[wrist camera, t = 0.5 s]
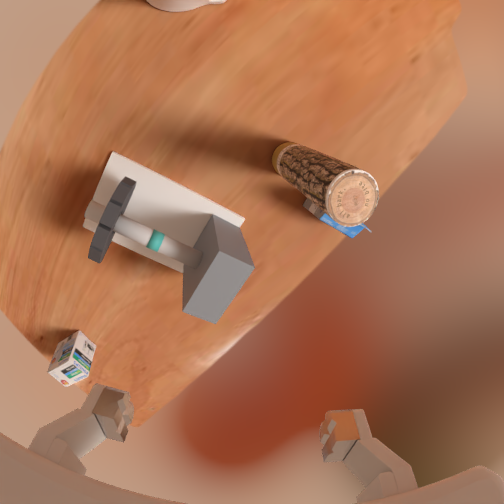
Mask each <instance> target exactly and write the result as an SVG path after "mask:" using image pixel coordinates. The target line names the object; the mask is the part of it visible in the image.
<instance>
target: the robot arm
mask: <svg viewBox="0 0 504 504" xmlns="http://www.w3.org/2000/svg"><path fill="white" fill-rule="evenodd" d="M146 1H147V2H148V3H149V4H151V5H152V6H154V7H156V8H158V9H161V10H164V11H171V12H180V11H187V10H192V9H195V8H198V7H200V6H203V5H206V4H221V3H224V2H225V1H226V0H146ZM129 400H130V394H129V392H126V391H123V390H119V389H115V388H112V387H108V386H105V385H101V384H98V383H96V384H95V385H94V386H93V387H92V389H91V391H90V393H89V395H88V397H87V398H86V400H85V402H84V404H83V406H82V407H81V409H76V410H74V411H72V412H70V413H68V414H66V415H65V416H63V417H61V418H59V419H57V420H55V421H53V422H52V423H49V424H47V425H46V426H44V427H42V428H40V429H39V430H38V432H37V434H36V436H35V438H34V439H33V441H32V443H31V445H30V446H29V448H28V449H27V448H25V447H23V446H22V445H20V444H18V443H17V442H15V441H13V440H12V439H10V438H8V437H7V436H5V435H3V434H2V433H0V504H186V503H180V502H175V501H170V500H164V499H160V498H155V497H151V496H147V495H143V494H139V493H136V492H132V491H129V490H125V489H121V488H118V487H115V486H112V485H109V484H106V483H103V482H100V481H98V480H95V479H92V478H89V477H87V476H84V475H85V472H86V468H85V467H84V465H83V464H82V463H81V462H80V460H79V459H80V458H82V457H83V456H84V455H86V454H87V453H88V452H90V451H91V450H92V449H94V448H95V447H96V446H97V445H99V444H100V443H101V442H103V441H104V440H105V439H106V438H109V439H113V440H116V441H121V442H124V441H125V438H126V435H127V433H128V429H127V425H129V424H130V423H131V422H132V419H133V414H134V407H133V404H132V403H131V402H130V401H129ZM325 418H326V420H325V421H323V422H322V424H321V426H320V442H321V443H322V444H324V447H323V449H322V454H323V460H324V462H336V461H343V463H344V464H345V465H346V466H347V467H348V469H349V470H350V471H351V472H352V473H353V474H354V475H355V476H356V478H357V479H358V480H359V481H360V482H361V483H362V484H363V485H364V486H365V487H366V488H365V489H364V490H363V491H362V492H361V493H360V494H359V495H358V496H357V503H355V504H504V481H503V479H502V478H501V477H500V476H499V475H497V474H496V473H495V472H493V471H491V470H489V469H488V468H485V467H484V466H476V467H473V468H471V469H469V470H466V471H464V472H462V473H459V474H457V475H454V476H452V477H449V478H447V479H444V480H441V481H439V482H436V483H433V484H430V485H427V486H424V487H421V488H418V486H417V483H416V480H415V477H414V474H413V471H412V468H411V466H410V465H409V464H408V463H406V462H405V461H404V460H402V459H401V458H400V457H399V456H397V455H396V454H395V453H394V452H392V451H391V450H390V449H389V448H387V447H386V446H385V445H384V444H382V443H381V442H380V441H378V440H377V439H376V438H372V435H371V432H370V429H369V426H368V422H367V419H366V417H365V413H364V411H363V410H362V409H357V410H338V411H328V412H327V413H326V415H325Z"/></svg>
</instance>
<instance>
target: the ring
mask: <svg viewBox="0 0 504 504" xmlns="http://www.w3.org/2000/svg"><path fill="white" fill-rule="evenodd" d="M135 186H136V181H134V180H132V179H130V178H128V177H126V176H125V177H124V178H123V179H122V180H121V182H120V183H119V185H118V186H117V188H116V190H115V191H114V193H113V195H112V196H111V198H110V201H109V202H108V204H107V206H106V208H105V210H104V212H103V215H102V217H101V219H100V221H99V224H98V226H97V228H96V231H95V234H94V237H93V240H92V242H91V246H90V250H89V255H88V258H89V259H91V260H93V261H95V262H97V263H101V261H102V259H103V257H104V256H105V254H106V251H107V249H108V247H109V245H110V243H111V241H112V239H113V236H114V234H115V232H114V231H113V229H114V227H115V224H116V222H117V220H118V218H119V216H120V214H122V215H123V214H124V212H125V210H126V208H127V205H128V203H129V200H130V199H131V196H132V194H133V191H134V189H135Z"/></svg>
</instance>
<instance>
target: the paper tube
mask: <svg viewBox="0 0 504 504" xmlns="http://www.w3.org/2000/svg"><path fill="white" fill-rule="evenodd" d="M272 165H273V167H274V169H275V171H276V172H277V173H278V174H279V175H281V176H282V177H283V178H284V179H285V180H287V181H288V182H289V183H290V184H291V185H293V186H294V187H295V188H296V189H298V190H299V191H300V192H301V193H302V194H304V195H305V196H306V197H307V198H308V199H309V200H311V201H312V202H313V203H314V204H315V205H317V206H318V207H319V208H320V209H321V210H322V211H324V212H325V213H326V214H327V215H328V216H329V217H330V218H332V219H333V220H334V221H335V222H336V223H338V224H340V225H342V226H345V227H354V226H357V225H360V224H362V223H363V222H365V221H366V220H367V219H369V217H370V216H371V215H372V214H373V212H374V211H375V209H376V206H377V203H378V199H379V190H378V186H377V183H376V181H375V180H374V178H373V177H372V176H371V175H370V174H369V173H367V172H365V171H363V170H361V169H359V168H357V167H354V166H352V165H350V164H347V163H345V162H343V161H340V160H338V159H336V158H333V157H331V156H328V155H326V154H323V153H321V152H318V151H316V150H313V149H310V148H308V147H305V146H302V145H299V144H297V143H293V142H287V143H283V144H281V145H279V146H278V147H277V148H276V149H275V151H274V153H273V156H272Z"/></svg>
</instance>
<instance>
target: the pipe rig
mask: <svg viewBox="0 0 504 504" xmlns="http://www.w3.org/2000/svg"><path fill="white" fill-rule="evenodd" d="M125 176H126V177H128V178H130V179H132V180H134V181H136V186H135V189H134V191H133V194H132V196H131V199H130V200H129V203H128V205H127V208H126V210H125V212H124V214H123V215H122V214H120V216H119V218H118V220H117V222H116V224H115V227H114V229H113V231H114V232H115V234H114V236H113V239H112V241H113V242H115V243H117V244H119V245H122V246H124V247H126V248H128V249H130V250H132V251H134V252H137V253H139V254H141V255H143V256H145V257H148V258H150V259H152V260H154V261H156V262H159V263H161V264H163V265H165V266H168V267H170V268H172V269H174V270H177V271H179V272H181V273H183V312H185V313H187V314H190V315H193V316H195V317H198V318H201V319H203V320H206V321H209V322H211V323H214V324H216V323H217V322H218V320H219V319H220V317H221V316H222V314H223V313H224V312H225V310H226V309H227V307H228V306H229V304H230V303H231V302H232V300H233V299H234V297H235V296H236V294H237V293H238V291H239V290H240V289H241V287H242V286H243V284H244V283H245V281H246V280H247V278H248V277H249V275H250V274H251V273H252V271H253V270H254V268H255V266H254V264H253V261H252V258H251V256H250V253H249V251H248V248H247V245H246V243H245V240H244V238H243V235H242V232H241V230H240V226H241V225H242V223H243V222H244V220H245V218H244V217H242V216H241V215H239V214H237V213H235V212H233V211H231V210H229V209H227V208H225V207H223V206H222V205H220V204H218V203H216V202H214V201H212V200H210V199H208V198H206V197H204V196H202V195H200V194H198V193H196V192H194V191H193V190H191V189H189V188H187V187H185V186H183V185H181V184H179V183H177V182H175V181H173V180H171V179H169V178H167V177H165V176H163V175H161V174H159V173H157V172H155V171H153V170H151V169H149V168H147V167H145V166H143V165H141V164H139V163H137V162H135V161H133V160H131V159H129V158H127V157H125V156H123V155H121V154H118V153H116V152H114V151H113V152H112V154H111V156H110V158H109V160H108V163H107V165H106V167H105V170H104V172H103V174H102V177H101V179H100V181H99V184H98V186H97V189H96V191H95V194H94V196H93V199H92V200H91V202H90V203H89V205H88V207H87V209H86V211H85V215H84V217H85V221H84V224H83V227H84V228H86V229H88V230H90V231H92V232H94V233H95V231H96V228H97V226H98V224H99V221H100V219H101V217H102V215H103V212H104V210H105V208H106V206H107V204H108V202H109V201H110V198H111V196H112V195H113V193H114V191H115V190H116V188H117V186H118V185H119V183H120V182H121V180H122V179H123V178H124V177H125Z"/></svg>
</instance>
